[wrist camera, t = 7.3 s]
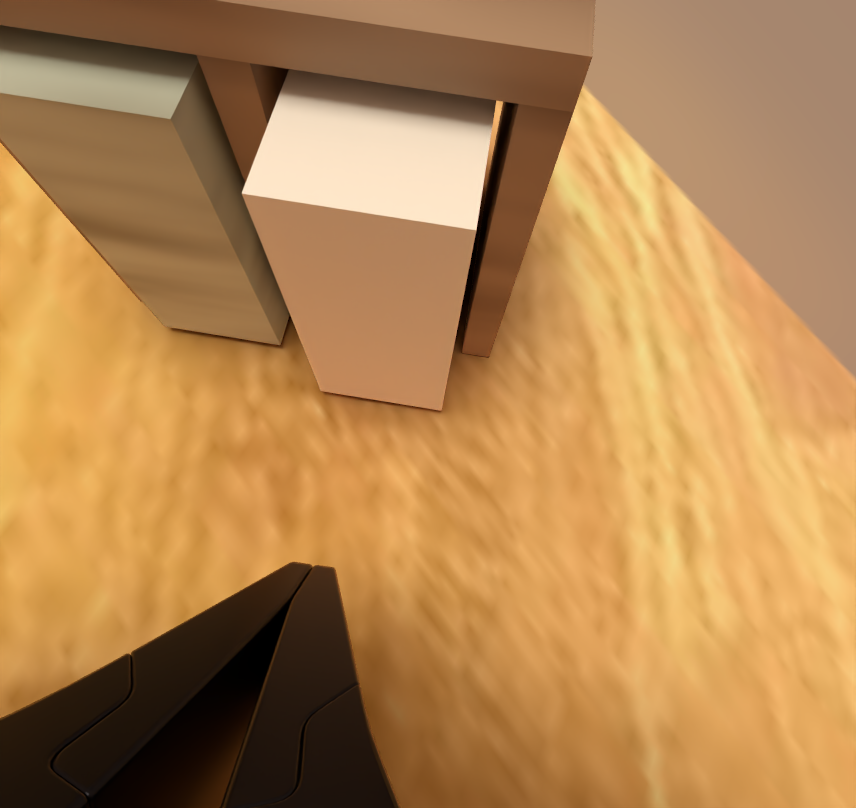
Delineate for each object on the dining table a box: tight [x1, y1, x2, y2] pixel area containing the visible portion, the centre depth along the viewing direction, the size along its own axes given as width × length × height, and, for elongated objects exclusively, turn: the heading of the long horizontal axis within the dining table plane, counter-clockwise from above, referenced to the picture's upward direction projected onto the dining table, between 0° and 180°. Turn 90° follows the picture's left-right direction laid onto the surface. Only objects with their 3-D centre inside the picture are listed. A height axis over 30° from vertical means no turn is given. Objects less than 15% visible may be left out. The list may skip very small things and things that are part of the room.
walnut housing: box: [0, 0, 595, 357], centre depth 15 cm, size 9×13×11 cm
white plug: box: [242, 69, 496, 411], centre depth 15 cm, size 12×4×9 cm, turn 171°
